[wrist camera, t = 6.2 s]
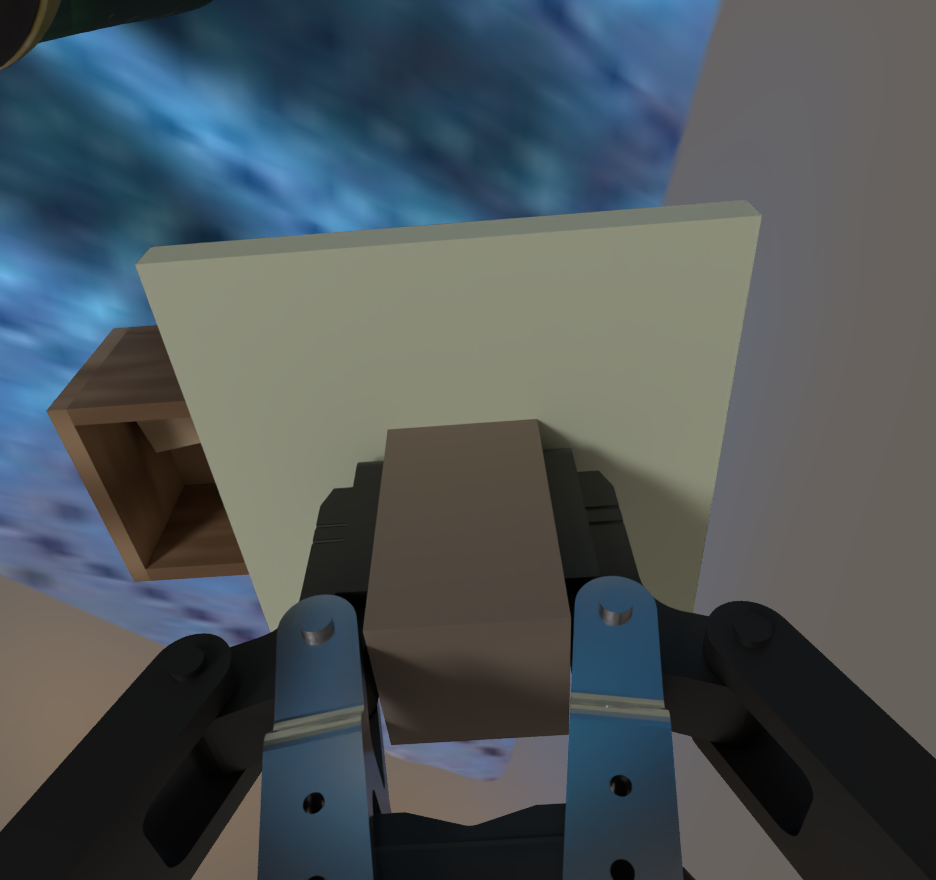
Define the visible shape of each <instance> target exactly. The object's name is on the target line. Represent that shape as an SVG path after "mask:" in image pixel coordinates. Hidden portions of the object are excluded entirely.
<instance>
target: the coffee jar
mask: <svg viewBox="0 0 936 880" xmlns="http://www.w3.org/2000/svg"><path fill="white" fill-rule="evenodd" d="M211 1H213V0H0V70H2V69H4V68H6V67H8V66H10V65H12V64H13V63H15V62H16V61H18V60H19V59H21V58H22V57H24V56H25V55H26V54H27V53H28V52H29V51H30V50H32V49H33V48H34V47H35V46H36V45H37V44H38V43H41V42H45V41H49V40H53V39H58V38H62V37H66V36H70V35H75V34H79V33H84V32H89V31H94V30H98V29H102V28H107V27H112V26H116V25H120V24H126V23H132V22H137V21H143V20H148V19H155V18H161V17H166V16H171V15H175V14H180V13H184V12H188V11H191V10H194V9H197V8H200V7H202V6H205V5H207V4H208V3H210V2H211Z"/></svg>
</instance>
